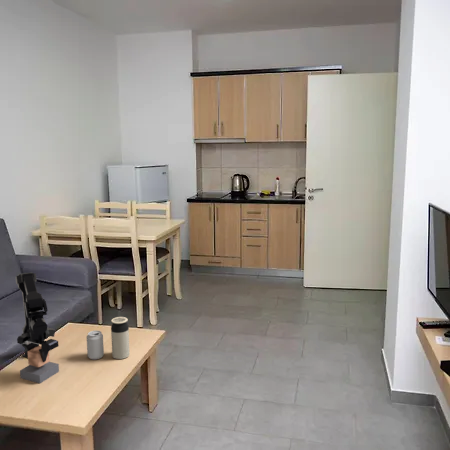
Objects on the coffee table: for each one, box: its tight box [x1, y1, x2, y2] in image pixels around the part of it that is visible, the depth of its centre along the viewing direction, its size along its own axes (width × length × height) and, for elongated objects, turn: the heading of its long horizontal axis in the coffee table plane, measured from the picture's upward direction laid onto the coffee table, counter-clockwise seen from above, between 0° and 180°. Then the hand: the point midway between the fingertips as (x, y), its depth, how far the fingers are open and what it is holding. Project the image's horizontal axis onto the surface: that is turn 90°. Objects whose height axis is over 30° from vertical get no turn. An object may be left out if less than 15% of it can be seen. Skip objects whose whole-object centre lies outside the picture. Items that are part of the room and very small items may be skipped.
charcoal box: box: [19, 361, 60, 384], centre depth 199 cm, size 11×11×4 cm
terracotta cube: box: [27, 345, 51, 367], centre depth 198 cm, size 6×6×6 cm
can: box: [86, 330, 105, 360], centre depth 216 cm, size 8×8×12 cm
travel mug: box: [110, 316, 130, 360], centre depth 216 cm, size 8×8×18 cm
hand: (39, 360), depth 198 cm, fingers closed on terracotta cube, 6 cm apart
